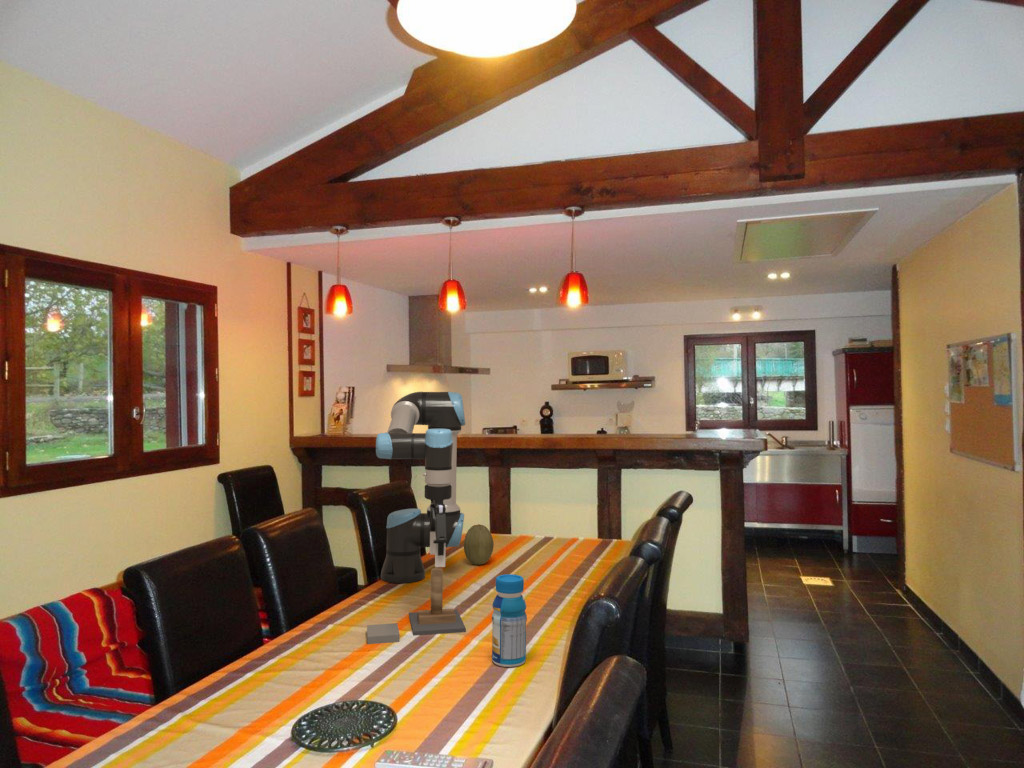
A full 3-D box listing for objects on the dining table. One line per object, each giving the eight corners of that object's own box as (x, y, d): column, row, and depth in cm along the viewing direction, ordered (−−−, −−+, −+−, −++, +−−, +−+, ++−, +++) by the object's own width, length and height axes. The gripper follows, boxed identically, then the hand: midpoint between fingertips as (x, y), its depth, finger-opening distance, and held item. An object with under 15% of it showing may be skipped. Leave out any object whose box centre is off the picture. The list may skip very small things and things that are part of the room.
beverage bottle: (514, 671, 157) (515, 584, 157) (484, 663, 162) (485, 578, 162) (532, 659, 164) (533, 576, 165) (503, 652, 169) (504, 571, 169)
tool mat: (408, 616, 195) (408, 612, 195) (457, 613, 198) (457, 609, 198) (413, 635, 180) (413, 631, 180) (465, 631, 183) (465, 628, 183)
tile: (367, 625, 182) (367, 636, 173) (397, 623, 184) (399, 634, 175) (366, 633, 182) (367, 645, 173) (397, 631, 184) (399, 643, 175)
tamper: (417, 617, 191) (418, 567, 191) (452, 615, 193) (453, 566, 193) (419, 624, 185) (419, 573, 185) (455, 622, 187) (456, 571, 188)
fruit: (499, 563, 258) (499, 523, 259) (482, 569, 249) (482, 528, 249) (474, 559, 264) (475, 520, 265) (457, 565, 255) (457, 524, 255)
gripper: (420, 478, 201) (419, 549, 201) (429, 491, 177) (428, 573, 177) (445, 477, 203) (445, 548, 203) (457, 491, 178) (456, 571, 178)
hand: (437, 560), depth 190 cm, fingers open, 13 cm apart
